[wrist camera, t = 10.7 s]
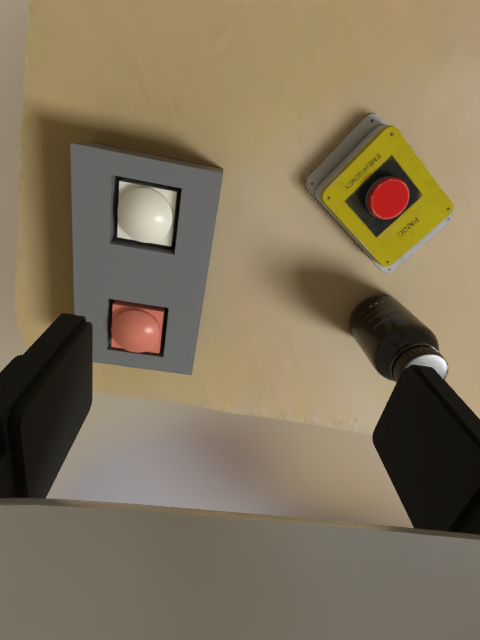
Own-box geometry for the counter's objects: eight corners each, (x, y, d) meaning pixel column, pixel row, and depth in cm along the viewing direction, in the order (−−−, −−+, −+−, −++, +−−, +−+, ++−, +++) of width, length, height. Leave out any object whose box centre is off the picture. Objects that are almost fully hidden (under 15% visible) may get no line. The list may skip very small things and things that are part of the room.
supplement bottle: (407, 330, 45) (464, 390, 35) (356, 349, 46) (395, 413, 36) (397, 284, 42) (454, 334, 32) (341, 306, 43) (379, 360, 33)
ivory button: (126, 177, 34) (117, 181, 32) (180, 188, 35) (176, 192, 32) (124, 230, 37) (115, 238, 34) (174, 239, 37) (170, 248, 35)
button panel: (90, 142, 34) (70, 142, 30) (223, 168, 36) (222, 173, 31) (90, 337, 44) (75, 359, 40) (194, 351, 46) (191, 374, 41)
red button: (119, 294, 39) (110, 306, 36) (167, 301, 40) (162, 314, 37) (117, 335, 41) (109, 349, 38) (162, 341, 42) (158, 356, 39)
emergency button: (390, 104, 30) (477, 225, 36) (371, 108, 34) (452, 216, 39) (309, 188, 33) (400, 288, 38) (300, 183, 37) (384, 275, 42)
